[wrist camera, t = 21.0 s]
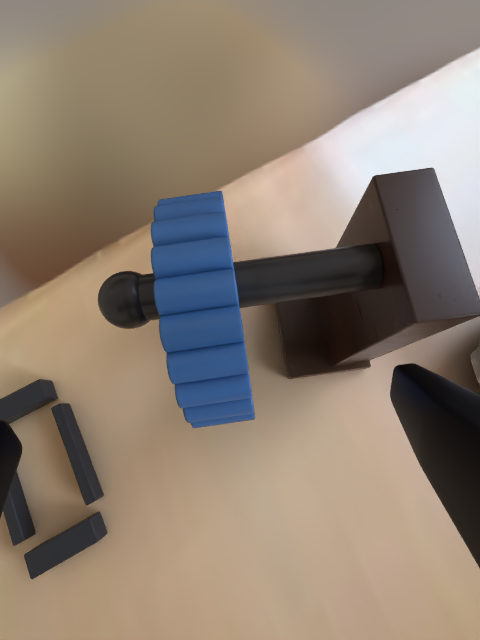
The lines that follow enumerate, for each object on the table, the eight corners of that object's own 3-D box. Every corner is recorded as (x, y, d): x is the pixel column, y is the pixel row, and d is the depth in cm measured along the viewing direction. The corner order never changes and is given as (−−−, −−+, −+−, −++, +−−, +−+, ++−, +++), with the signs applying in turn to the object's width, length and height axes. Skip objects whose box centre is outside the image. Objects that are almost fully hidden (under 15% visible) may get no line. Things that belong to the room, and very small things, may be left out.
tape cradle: (116, 527, 17) (107, 536, 16) (36, 573, 17) (21, 585, 16) (59, 376, 20) (47, 374, 19) (-12, 413, 19) (-29, 413, 18)
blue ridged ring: (253, 412, 17) (257, 429, 8) (209, 419, 17) (165, 443, 8) (230, 254, 20) (213, 131, 11) (190, 259, 20) (140, 141, 11)
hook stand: (345, 281, 21) (437, 157, 10) (366, 368, 19) (497, 323, 9) (163, 306, 21) (76, 207, 10) (169, 395, 19) (77, 381, 9)
